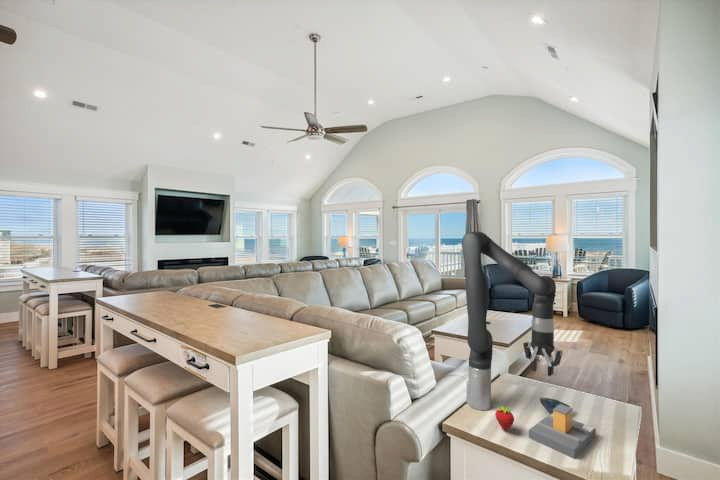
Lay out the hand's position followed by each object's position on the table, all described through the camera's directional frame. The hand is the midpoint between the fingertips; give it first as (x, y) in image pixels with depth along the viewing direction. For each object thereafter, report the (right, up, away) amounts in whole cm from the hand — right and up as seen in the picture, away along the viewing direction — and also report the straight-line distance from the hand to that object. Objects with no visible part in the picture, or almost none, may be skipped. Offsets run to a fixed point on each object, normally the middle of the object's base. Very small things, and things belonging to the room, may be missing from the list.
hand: (542, 372), depth 134 cm
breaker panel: (+5, -22, -5) cm, 23 cm away
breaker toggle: (+5, -19, -5) cm, 20 cm away
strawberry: (-15, -22, -1) cm, 26 cm away
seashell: (+12, -22, +13) cm, 28 cm away
